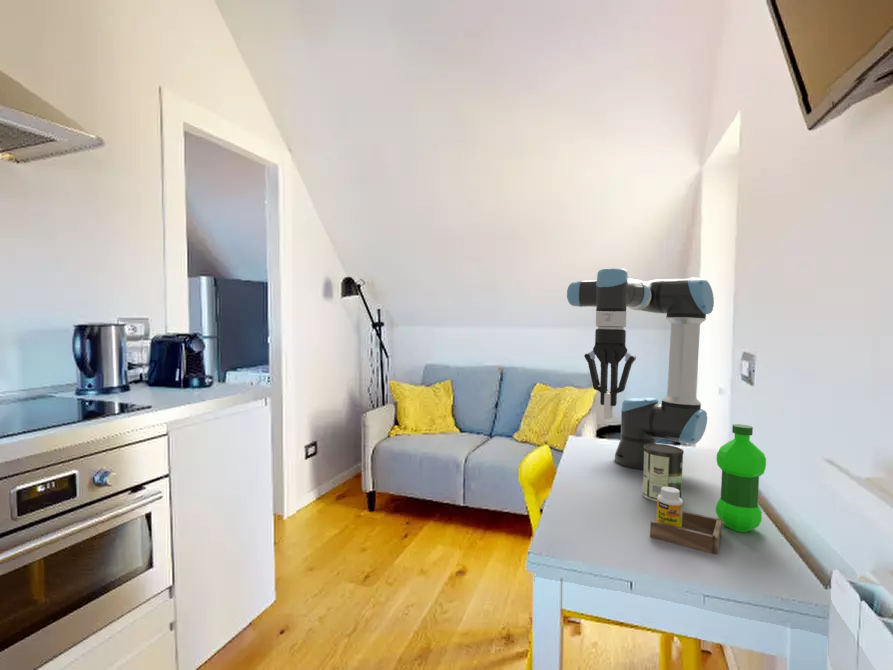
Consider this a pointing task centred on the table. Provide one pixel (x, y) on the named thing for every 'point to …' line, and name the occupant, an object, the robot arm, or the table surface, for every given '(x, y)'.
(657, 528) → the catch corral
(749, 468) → the plastic bottle
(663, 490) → the supplement bottle
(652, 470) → the coffee can
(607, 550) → the table surface
